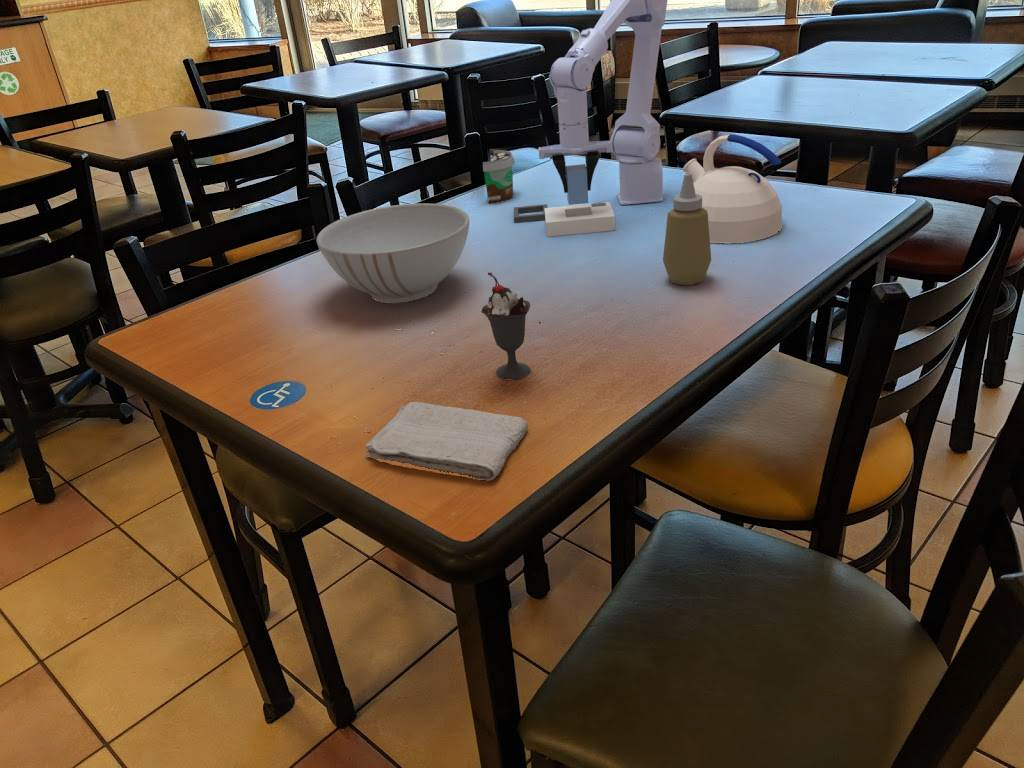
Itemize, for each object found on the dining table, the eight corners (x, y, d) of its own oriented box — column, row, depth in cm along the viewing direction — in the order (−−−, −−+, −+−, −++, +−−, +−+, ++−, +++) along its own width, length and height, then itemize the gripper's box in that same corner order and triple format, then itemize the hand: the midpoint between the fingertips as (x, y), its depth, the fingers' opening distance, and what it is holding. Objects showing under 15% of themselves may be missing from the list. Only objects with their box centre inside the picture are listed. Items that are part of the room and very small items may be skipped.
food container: (512, 204, 183) (508, 161, 178) (487, 205, 185) (482, 162, 180) (522, 189, 194) (518, 148, 189) (498, 190, 195) (493, 149, 190)
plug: (586, 197, 164) (584, 164, 161) (588, 203, 160) (586, 168, 157) (567, 199, 164) (565, 165, 161) (568, 204, 161) (566, 170, 157)
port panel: (610, 215, 169) (609, 201, 167) (615, 230, 160) (614, 215, 159) (545, 221, 170) (544, 207, 168) (547, 236, 161) (545, 221, 159)
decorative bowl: (356, 335, 128) (341, 266, 122) (314, 287, 149) (299, 225, 143) (502, 293, 137) (494, 226, 131) (442, 253, 159) (434, 194, 153)
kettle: (711, 206, 168) (714, 119, 160) (802, 220, 155) (810, 126, 146) (654, 233, 157) (654, 141, 148) (747, 252, 143) (752, 152, 134)
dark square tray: (547, 209, 177) (547, 204, 177) (548, 219, 171) (548, 214, 170) (514, 212, 178) (513, 207, 177) (514, 222, 171) (513, 217, 170)
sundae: (488, 364, 114) (475, 267, 107) (533, 358, 115) (524, 261, 107) (491, 386, 109) (478, 285, 101) (539, 379, 109) (529, 279, 101)
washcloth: (407, 415, 105) (403, 395, 104) (532, 431, 99) (530, 410, 97) (362, 465, 96) (357, 444, 94) (496, 486, 89) (493, 464, 88)
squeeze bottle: (713, 271, 136) (716, 167, 128) (707, 289, 130) (710, 182, 121) (666, 269, 139) (666, 168, 130) (659, 287, 133) (658, 182, 124)
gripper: (537, 130, 151) (542, 199, 158) (612, 122, 151) (614, 192, 157) (536, 123, 158) (541, 189, 164) (608, 115, 157) (610, 183, 163)
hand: (577, 190), depth 161 cm, fingers closed on plug, 4 cm apart
